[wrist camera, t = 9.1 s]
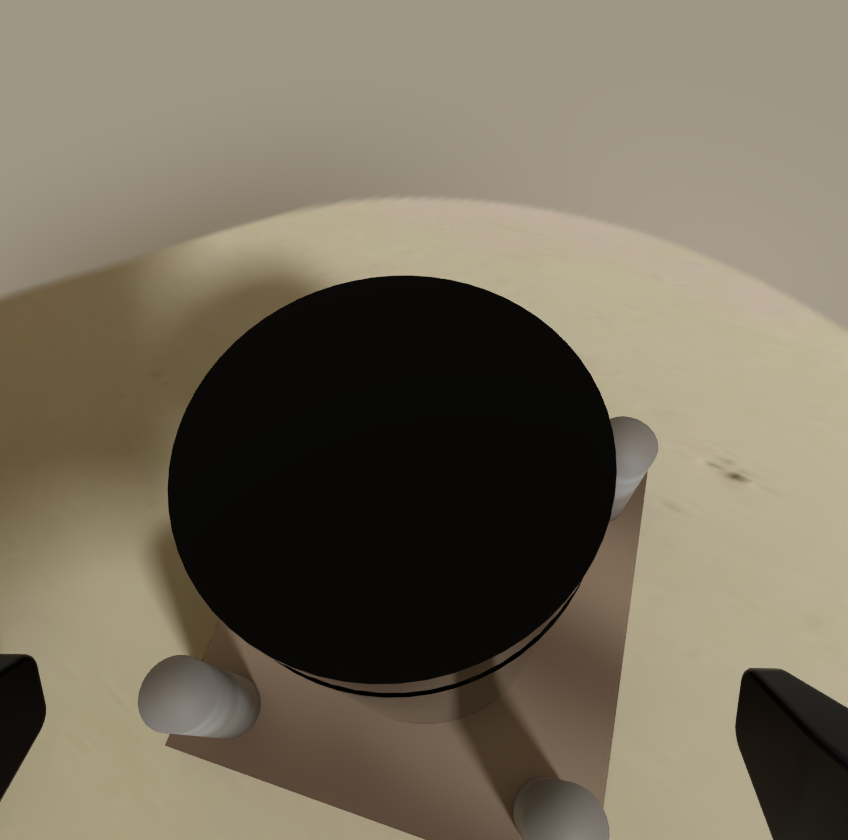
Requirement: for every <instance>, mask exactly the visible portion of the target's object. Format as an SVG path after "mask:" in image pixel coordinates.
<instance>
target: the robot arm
mask: <svg viewBox="0 0 848 840" xmlns="http://www.w3.org/2000/svg"><path fill="white" fill-rule="evenodd" d="M45 715H46V704H45V699H44V695H43V690H42V685H41V681H40V676H39V671H38V667H37V663H36V661H35V660H34V658H33V657H32V656H29V655H27V654H0V801H1V799H2V798H3V796H4V794H5V792H6V790H7V789H8V787H9V785H10V783H11V782H12V780H13V778H14V776H15V775H16V773H17V771H18V769H19V767H20V766H21V764H22V762H23V760H24V759H25V757H26V755H27V753H28V752H29V750H30V748H31V746H32V744H33V743H34V741H35V739H36V737H37V736H38V734H39V732H40V730H41V728H42V726H43V723H44V720H45ZM735 728H736V738H737V742H738V746H739V749H740V752H741V754H742V757H743V760H744V762H745V765H746V768H747V770H748V773H749V776H750V779H751V781H752V784H753V787H754V789H755V792H756V795H757V797H758V800H759V803H760V806H761V808H762V811H763V814H764V816H765V819H766V822H767V824H768V827H769V830H770V833H771V835H772V838H773V840H848V708H847V707H845V706H843V705H842V704H840V703H838V702H837V701H835V700H833V699H832V698H830V697H828V696H827V695H825V694H823V693H822V692H820V691H818V690H817V689H815V688H813V687H811V686H810V685H808V684H806V683H805V682H803V681H801V680H800V679H798V678H796V677H795V676H793V675H791V674H790V673H788V672H786V671H784V670H782V669H776V668H749V669H748V670H746V671H745V672H744V674H743V676H742V679H741V686H740V694H739V701H738V709H737V716H736V725H735Z"/></svg>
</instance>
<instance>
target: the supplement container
mask: <svg viewBox="0 0 848 840" xmlns="http://www.w3.org/2000/svg"><path fill="white" fill-rule="evenodd" d="M616 477H617V464H616V448H615V442H614V435H613V429H612V426H611V422H610V419H609V415H608V411H607V409H606V406H605V404H604V401H603V399H602V396H601V394H600V391H599V389H598V388H597V386H596V384H595V382H594V380H593V378H592V376H591V374H590V373H589V371H588V370H587V368H586V367H585V366H584V364H583V363H582V361H581V360H580V358H579V357H578V356H577V355H576V353H575V352H574V351H573V350H572V349H571V347H570V346H569V345H568V344H567V343H566V342H565V341H564V340H563V339H562V338H561V337H560V336H559V335H558V334H557V333H556V332H555V331H554V330H553V329H552V328H550V327H549V326H548V325H547V324H545V323H544V322H543V321H542V320H540V319H539V318H538V317H536V316H535V315H533V314H532V313H530V312H529V311H527V310H526V309H524V308H523V307H521V306H519V305H517V304H515V303H513V302H512V301H510V300H508V299H506V298H504V297H502V296H499V295H497V294H494V293H492V292H490V291H487V290H484V289H481V288H478V287H475V286H472V285H469V284H465V283H461V282H457V281H452V280H447V279H440V278H434V277H423V276H386V277H375V278H368V279H362V280H356V281H351V282H347V283H343V284H339V285H335V286H332V287H329V288H326V289H323V290H320V291H317V292H314V293H312V294H310V295H307V296H305V297H303V298H300V299H298V300H296V301H294V302H292V303H290V304H288V305H286V306H284V307H282V308H281V309H279V310H277V311H276V312H274V313H273V314H271V315H269V316H268V317H266V318H265V319H263V320H262V321H260V322H259V323H258V324H256V325H255V326H254V327H252V328H251V329H250V330H248V331H247V332H246V333H245V334H244V335H243V336H241V337H240V338H239V339H238V340H237V341H236V342H235V343H234V344H233V345H232V346H231V347H230V348H229V349H228V350H227V351H226V352H225V353H224V354H223V355H222V356H221V357H220V358H219V359H218V361H217V362H216V363H215V364H214V366H213V367H212V368H211V369H210V371H209V372H208V373H207V375H206V376H205V378H204V379H203V381H202V382H201V384H200V385H199V387H198V388H197V390H196V391H195V393H194V395H193V397H192V399H191V401H190V403H189V405H188V407H187V408H186V411H185V413H184V416H183V418H182V421H181V423H180V426H179V428H178V432H177V435H176V438H175V442H174V445H173V449H172V455H171V461H170V466H169V478H168V506H169V515H170V521H171V527H172V532H173V536H174V539H175V543H176V546H177V550H178V553H179V555H180V558H181V560H182V562H183V565H184V567H185V569H186V572H187V574H188V575H189V577H190V579H191V581H192V582H193V584H194V586H195V588H196V589H197V591H198V593H199V594H200V595H201V597H202V598H203V599H204V601H205V602H206V603H207V605H208V606H209V607H210V609H211V610H212V611H213V612H214V613H215V614H216V615H217V616H218V617H219V618H220V619H221V620H222V621H223V623H224V624H225V625H226V626H227V627H228V628H229V629H231V630H232V631H233V632H234V633H236V634H237V635H238V636H239V637H241V638H242V639H243V640H244V641H245V642H247V643H248V644H250V645H251V646H253V647H254V648H256V649H258V650H259V651H261V652H262V653H264V654H266V655H267V656H269V657H270V658H272V659H274V660H275V661H276V662H278V663H279V664H281V665H282V666H284V667H286V668H287V669H289V670H290V671H292V672H294V673H295V674H297V675H299V676H301V677H303V678H305V679H308V680H310V681H312V682H314V683H316V684H318V685H321V686H324V687H327V688H330V689H333V690H335V691H337V692H339V693H341V694H343V695H344V696H346V697H348V698H350V699H352V700H353V701H355V702H357V703H359V704H361V705H362V706H364V707H366V708H368V709H370V710H371V711H373V712H376V713H378V714H380V715H382V716H384V717H387V718H390V719H393V720H397V721H402V722H406V723H415V724H436V723H444V722H449V721H453V720H457V719H460V718H463V717H466V716H468V715H471V714H473V713H475V712H477V711H479V710H481V709H483V708H484V707H486V706H487V705H489V704H490V703H492V702H493V701H495V700H496V699H497V698H498V697H499V696H501V695H502V694H503V693H504V692H505V691H506V690H507V689H508V688H509V687H510V686H511V685H512V684H513V682H514V681H515V680H516V678H517V677H518V676H519V675H520V673H521V672H522V670H523V668H524V667H525V665H526V664H527V662H528V660H529V659H530V657H531V656H532V654H533V652H534V651H535V649H536V648H537V646H538V644H539V643H540V641H541V640H542V638H543V637H544V635H545V634H546V633H547V632H548V631H549V630H550V629H551V628H552V626H553V625H554V624H555V623H556V621H557V620H558V619H559V617H560V616H561V615H562V613H563V612H564V611H565V610H566V608H567V606H568V605H569V603H570V602H571V600H572V598H573V597H574V595H575V593H576V592H577V590H578V588H579V586H580V584H581V582H582V580H583V577H584V576H585V574H586V572H587V571H588V569H589V567H590V566H591V564H592V562H593V561H594V559H595V557H596V554H597V552H598V550H599V548H600V546H601V543H602V541H603V539H604V536H605V533H606V530H607V527H608V524H609V521H610V517H611V513H612V508H613V503H614V498H615V490H616Z"/></svg>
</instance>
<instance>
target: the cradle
mask: <svg viewBox="0 0 848 840" xmlns="http://www.w3.org/2000/svg"><path fill="white" fill-rule="evenodd" d="M610 422H611V426H612V429H613V435H614V442H615V448H616V464H617V477H616V490H615V498H614V503H613V508H612V513H611V517H610V521H609V524H608V527H607V530H606V533H605V536H604V539H603V541H602V543H601V546H600V548H599V550H598V552H597V554H596V557H595V559H594V561H593V562H592V564H591V566H590V567H589V569H588V571H587V572H586V574H585V576H584V577H583V580H582V582H581V584H580V586H579V588H578V590H577V592H576V593H575V595H574V597H573V598H572V600H571V602H570V603H569V605H568V606H567V608H566V610H565V611H564V612H563V613H562V615H561V616H560V617H559V619H558V620H557V621H556V623H555V624H554V625H553V626H552V628H551V629H550V630H549V631H548V632H547V633H546V634H545V635H544V637H543V638H542V640H541V641H540V643H539V644H538V646H537V648H536V649H535V651H534V652H533V654H532V656H531V657H530V659H529V660H528V662H527V664H526V665H525V667H524V668H523V670H522V672H521V673H520V675H519V676H518V677H517V678H516V680H515V681H514V682H513V684H512V685H511V686H510V687H509V688H508V689H507V690H506V691H505V692H504V693H503V694H502V695H501V696H499V697H498V698H497V699H496V700H495V701H493V702H492V703H490V704H489V705H487V706H486V707H484V708H483V709H481V710H479V711H477V712H475V713H473V714H471V715H468V716H466V717H463V718H460V719H457V720H453V721H449V722H444V723H436V724H415V723H406V722H402V721H397V720H393V719H390V718H387V717H384V716H382V715H380V714H378V713H376V712H373V711H371V710H370V709H368V708H366V707H364V706H362V705H361V704H359V703H357V702H355V701H353V700H352V699H350V698H348V697H346V696H344V695H343V694H341V693H339V692H337V691H335V690H333V689H330V688H327V687H324V686H321V685H318V684H316V683H314V682H312V681H310V680H308V679H305V678H303V677H301V676H299V675H297V674H295V673H294V672H292V671H290V670H289V669H287V668H286V667H284V666H282V665H281V664H279V663H278V662H276V661H275V660H274V659H272V658H270V657H269V656H267V655H266V654H264V653H262V652H261V651H259V650H258V649H256V648H254V647H253V646H251V645H250V644H248V643H247V642H245V641H244V640H243V639H242V638H241V637H239V636H238V635H237V634H236V633H234V632H233V631H232V630H231V629H229V628H228V627H227V626H226V625H225V624H224V623H223V621H222V620H221V619H220V620H219V623H218V625H217V627H216V630H215V632H214V634H213V636H212V639H211V641H210V643H209V646H208V648H207V650H206V652H205V655H204V657H203V659H202V661H201V660H198V659H195V658H193V657H190V656H186V655H176V656H172V657H169V658H166V659H164V660H162V661H161V662H159V663H158V664H157V665H155V666H154V667H153V668H152V669H151V670H150V672H149V673H148V674H147V676H146V677H145V679H144V681H143V683H142V685H141V688H140V691H139V697H138V708H139V712H140V715H141V717H142V719H143V721H144V722H145V724H146V725H147V726H148V727H150V728H151V729H152V730H155V731H157V732H160V733H169V734H170V735H169V737H168V740H167V742H166V744H165V746H168V747H171V748H174V749H177V750H179V751H182V752H185V753H188V754H190V755H193V756H196V757H199V758H201V759H204V760H207V761H210V762H213V763H215V764H218V765H221V766H224V767H226V768H229V769H232V770H235V771H237V772H240V773H243V774H246V775H248V776H251V777H254V778H257V779H260V780H262V781H265V782H268V783H271V784H273V785H276V786H279V787H282V788H284V789H287V790H290V791H293V792H296V793H298V794H301V795H304V796H307V797H309V798H312V799H315V800H318V801H320V802H323V803H326V804H329V805H331V806H334V807H337V808H340V809H343V810H345V811H348V812H351V813H354V814H356V815H359V816H362V817H365V818H367V819H370V820H373V821H376V822H379V823H381V824H384V825H387V826H390V827H392V828H395V829H398V830H401V831H403V832H406V833H409V834H412V835H414V836H417V837H420V838H423V839H426V840H609V825H608V821H607V817H606V814H605V812H604V810H603V806H604V798H605V791H606V783H607V775H608V768H609V760H610V753H611V745H612V737H613V730H614V722H615V715H616V707H617V699H618V692H619V684H620V677H621V669H622V661H623V654H624V646H625V639H626V631H627V623H628V616H629V608H630V600H631V593H632V585H633V578H634V570H635V562H636V555H637V547H638V540H639V532H640V524H641V517H642V509H643V502H644V494H645V486H646V479H647V471H648V469H649V467H650V466H651V464H652V463H653V461H654V459H655V458H656V456H657V452H658V442H657V439H656V436H655V434H654V433H653V431H652V430H651V429H650V428H649V427H648V426H647V425H646V424H644V423H643V422H641V421H639V420H637V419H634V418H631V417H615V418H612V419H610Z"/></svg>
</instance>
